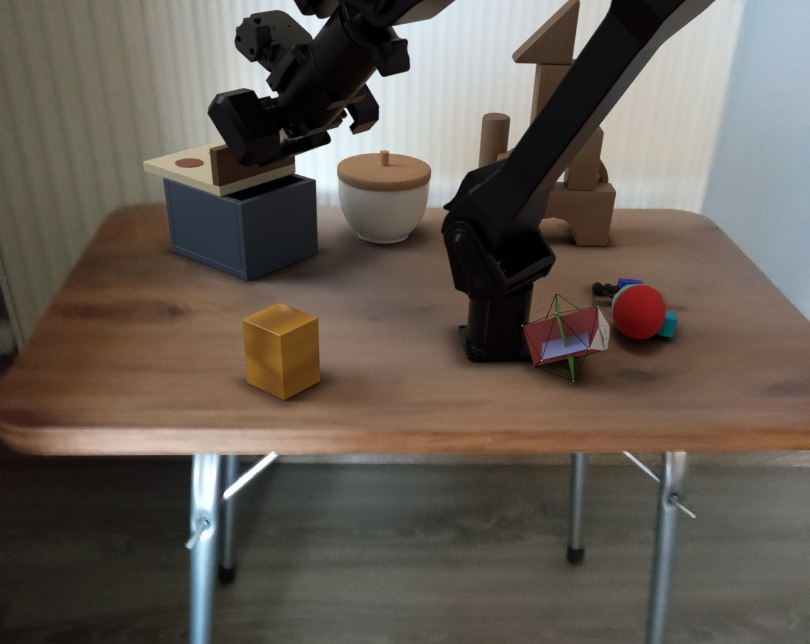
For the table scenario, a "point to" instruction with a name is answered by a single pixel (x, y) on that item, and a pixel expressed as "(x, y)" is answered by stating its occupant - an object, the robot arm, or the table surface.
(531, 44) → the wooden toy
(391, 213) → the trinket box
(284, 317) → the block
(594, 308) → the geometric puzzle
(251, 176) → the lid
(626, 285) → the toy figure
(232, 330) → the table surface
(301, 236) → the box
